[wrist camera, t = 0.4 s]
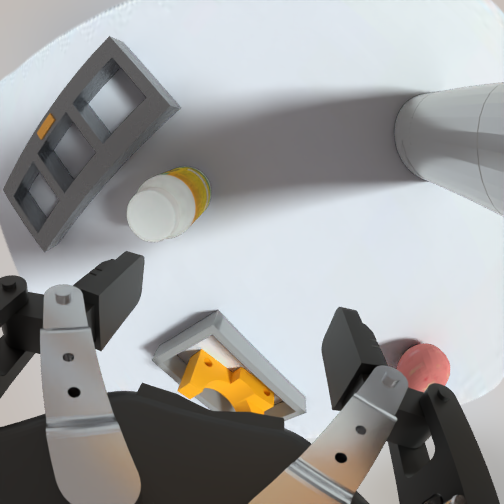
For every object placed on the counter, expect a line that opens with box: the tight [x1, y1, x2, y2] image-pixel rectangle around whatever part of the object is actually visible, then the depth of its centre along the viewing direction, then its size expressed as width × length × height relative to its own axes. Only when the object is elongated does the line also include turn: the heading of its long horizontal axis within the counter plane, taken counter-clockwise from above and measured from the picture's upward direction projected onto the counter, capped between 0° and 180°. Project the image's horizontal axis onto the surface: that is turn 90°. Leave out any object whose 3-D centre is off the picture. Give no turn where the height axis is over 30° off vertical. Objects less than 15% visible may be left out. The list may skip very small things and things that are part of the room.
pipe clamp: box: [178, 349, 274, 414], centre depth 36 cm, size 12×4×6 cm, turn 46°
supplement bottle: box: [127, 166, 211, 242], centre depth 25 cm, size 5×5×10 cm
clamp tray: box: [152, 310, 306, 421], centre depth 37 cm, size 11×19×3 cm, turn 38°
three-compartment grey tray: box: [3, 36, 181, 252], centre depth 27 cm, size 24×11×3 cm, turn 128°
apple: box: [397, 344, 450, 392], centre depth 31 cm, size 7×7×8 cm
